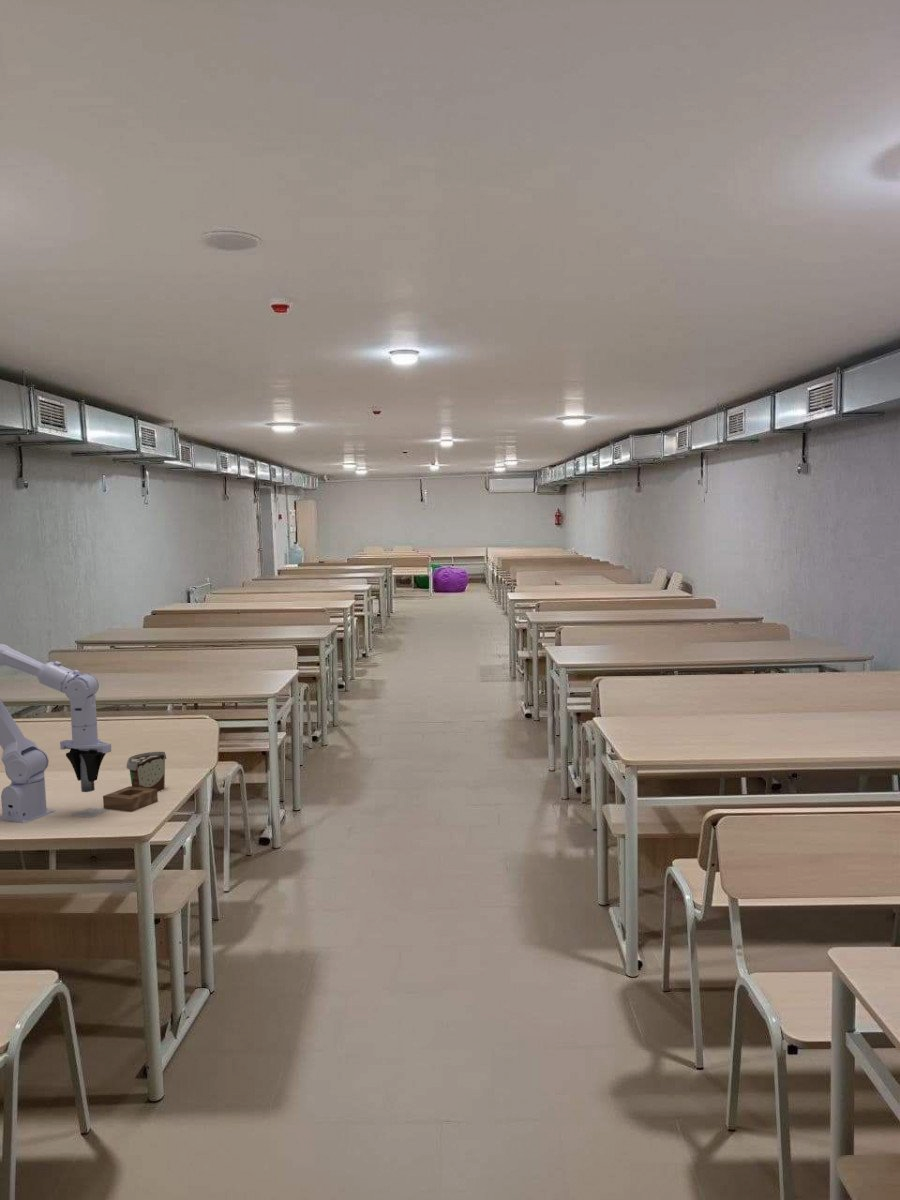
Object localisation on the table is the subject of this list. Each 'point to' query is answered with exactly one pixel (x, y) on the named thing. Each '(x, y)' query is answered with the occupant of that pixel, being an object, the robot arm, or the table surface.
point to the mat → (89, 813)
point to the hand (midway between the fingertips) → (87, 780)
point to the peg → (85, 776)
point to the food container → (148, 770)
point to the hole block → (130, 798)
